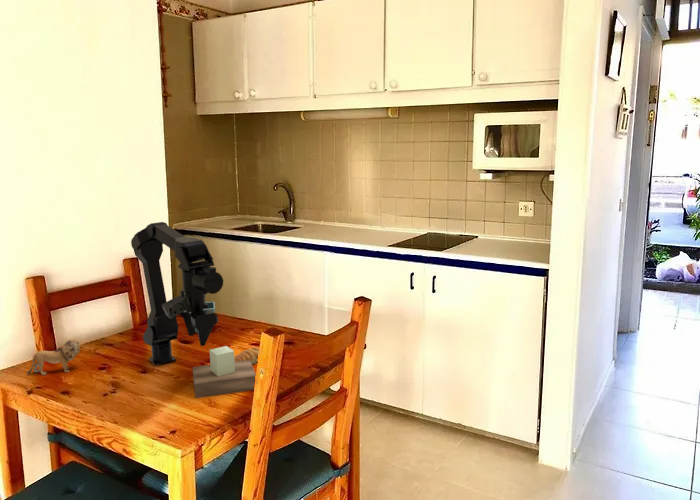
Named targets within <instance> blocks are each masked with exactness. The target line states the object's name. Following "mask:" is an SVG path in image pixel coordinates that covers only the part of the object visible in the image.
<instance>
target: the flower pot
mask: <svg viewBox="0 0 700 500" xmlns="http://www.w3.org/2000/svg"><path fill="white" fill-rule="evenodd" d="M205 303H206V304H208V308H207V309H204V310H203V311H205V310H211V311H212V312H214V313H215V314H216V306H215V305H216V302H215V301H205ZM195 333H196V334H198V332H197V329H196V328H195Z"/></svg>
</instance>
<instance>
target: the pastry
mask: <svg viewBox="0 0 700 500" xmlns="http://www.w3.org/2000/svg"><path fill="white" fill-rule="evenodd" d="M259 350H260V348H259V347H251V348H249V349H245V350H242V351H241V352H240V353H239V354H236V355H234V361H235V362H237V361H245V360H250V361H251V364H252V365H255V364H258V363H257V359H258V354H259Z"/></svg>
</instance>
